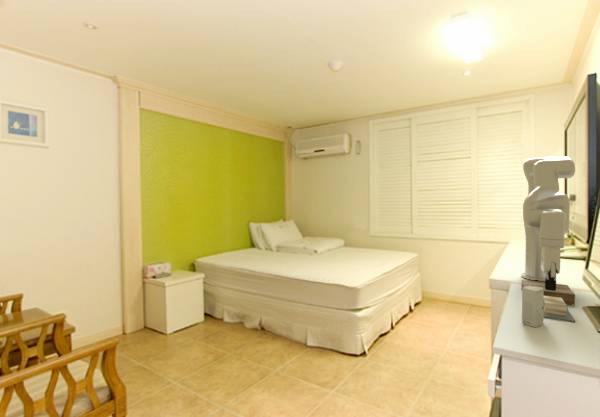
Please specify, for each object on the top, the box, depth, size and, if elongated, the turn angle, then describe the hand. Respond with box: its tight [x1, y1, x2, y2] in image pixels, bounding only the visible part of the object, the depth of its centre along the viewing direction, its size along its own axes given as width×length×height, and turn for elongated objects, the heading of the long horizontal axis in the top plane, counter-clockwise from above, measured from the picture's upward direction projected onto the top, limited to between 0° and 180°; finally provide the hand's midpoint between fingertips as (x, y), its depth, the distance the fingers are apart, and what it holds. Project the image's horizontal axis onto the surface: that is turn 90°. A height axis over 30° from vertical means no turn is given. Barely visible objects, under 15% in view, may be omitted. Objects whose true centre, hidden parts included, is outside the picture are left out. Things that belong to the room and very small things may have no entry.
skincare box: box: [521, 285, 545, 328], centre depth 108 cm, size 6×4×12 cm
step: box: [520, 279, 576, 306], centre depth 135 cm, size 14×16×4 cm
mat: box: [543, 308, 576, 323], centre depth 120 cm, size 20×12×1 cm, turn 150°
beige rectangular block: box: [544, 296, 568, 315], centre depth 119 cm, size 9×6×4 cm, turn 150°
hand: (550, 289), depth 126 cm, fingers closed
